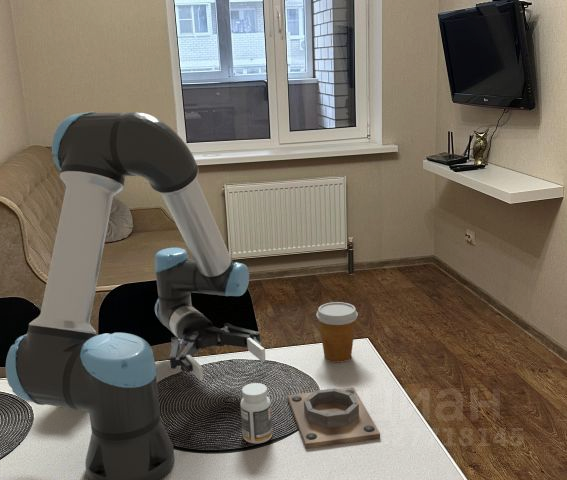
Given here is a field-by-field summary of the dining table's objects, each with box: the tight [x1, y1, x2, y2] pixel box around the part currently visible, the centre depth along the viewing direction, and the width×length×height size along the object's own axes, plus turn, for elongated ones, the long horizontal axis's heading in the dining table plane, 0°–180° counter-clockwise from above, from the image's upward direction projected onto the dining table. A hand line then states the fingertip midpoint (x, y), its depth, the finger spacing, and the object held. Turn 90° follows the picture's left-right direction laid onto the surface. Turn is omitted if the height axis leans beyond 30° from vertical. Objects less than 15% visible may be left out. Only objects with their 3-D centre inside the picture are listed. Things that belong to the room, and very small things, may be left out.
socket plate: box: [287, 387, 381, 449], centre depth 127 cm, size 14×18×4 cm
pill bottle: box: [239, 382, 274, 445], centre depth 121 cm, size 6×6×10 cm
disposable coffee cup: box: [315, 301, 358, 363], centre depth 152 cm, size 10×10×12 cm
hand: (233, 364), depth 128 cm, fingers open, 13 cm apart
